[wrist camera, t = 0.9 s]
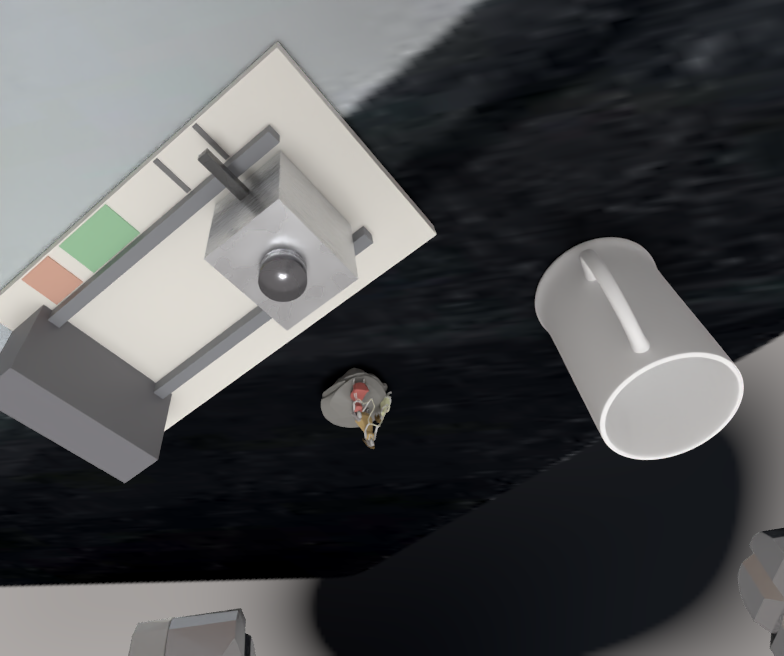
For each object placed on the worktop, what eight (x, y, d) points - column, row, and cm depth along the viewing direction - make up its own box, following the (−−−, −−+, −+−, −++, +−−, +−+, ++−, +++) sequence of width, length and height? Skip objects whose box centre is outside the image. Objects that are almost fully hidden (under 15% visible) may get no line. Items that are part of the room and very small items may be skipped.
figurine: (315, 411, 50) (331, 469, 45) (317, 363, 48) (334, 420, 43) (383, 403, 52) (406, 459, 47) (389, 357, 49) (413, 410, 44)
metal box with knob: (240, 108, 35) (230, 162, 30) (350, 224, 40) (360, 291, 34) (174, 166, 37) (151, 229, 31) (287, 272, 41) (286, 344, 36)
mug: (503, 229, 43) (563, 345, 33) (633, 173, 42) (734, 276, 32) (552, 356, 50) (613, 482, 40) (664, 311, 49) (755, 430, 39)
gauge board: (277, 41, 35) (274, 83, 29) (433, 225, 42) (455, 288, 36) (-11, 300, 42) (-59, 376, 36) (167, 419, 49) (150, 497, 43)
